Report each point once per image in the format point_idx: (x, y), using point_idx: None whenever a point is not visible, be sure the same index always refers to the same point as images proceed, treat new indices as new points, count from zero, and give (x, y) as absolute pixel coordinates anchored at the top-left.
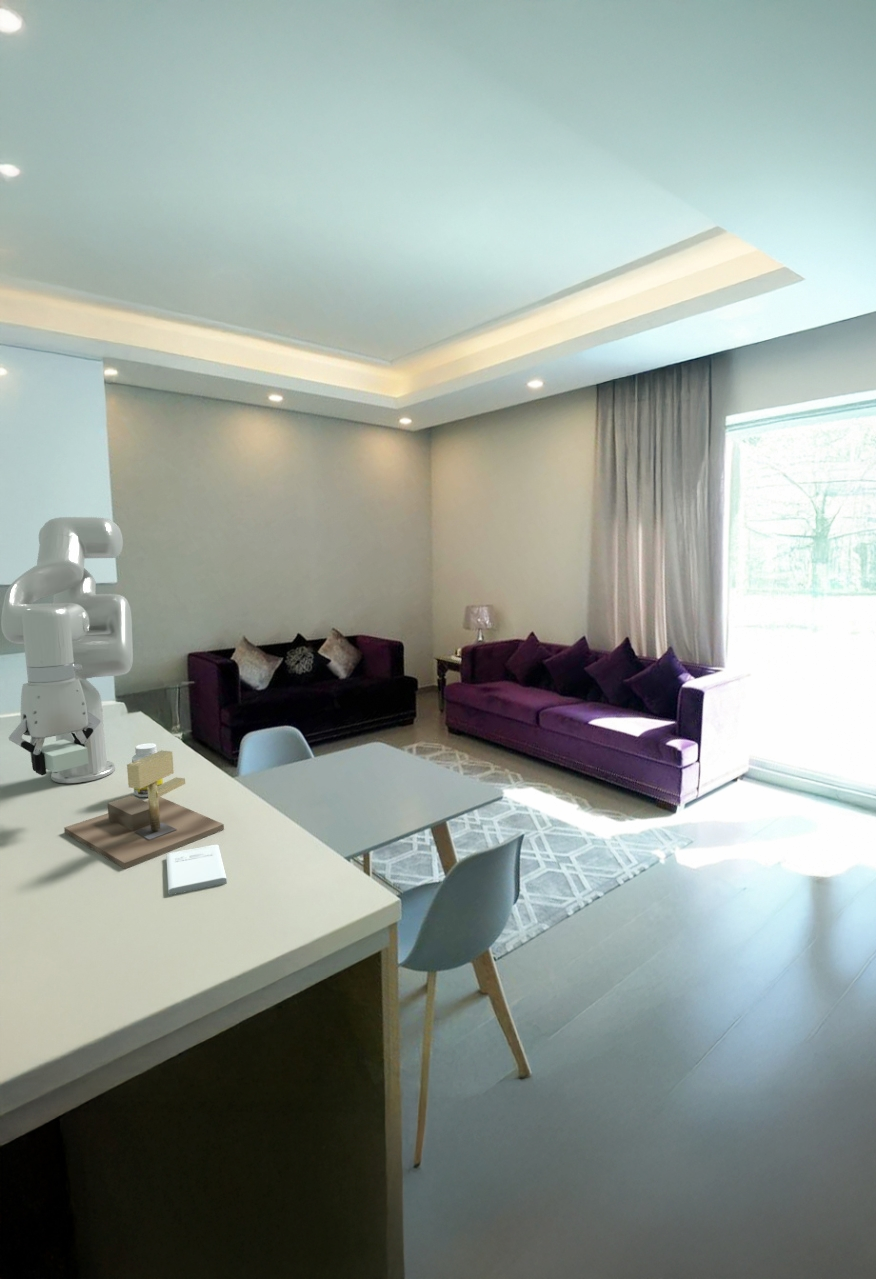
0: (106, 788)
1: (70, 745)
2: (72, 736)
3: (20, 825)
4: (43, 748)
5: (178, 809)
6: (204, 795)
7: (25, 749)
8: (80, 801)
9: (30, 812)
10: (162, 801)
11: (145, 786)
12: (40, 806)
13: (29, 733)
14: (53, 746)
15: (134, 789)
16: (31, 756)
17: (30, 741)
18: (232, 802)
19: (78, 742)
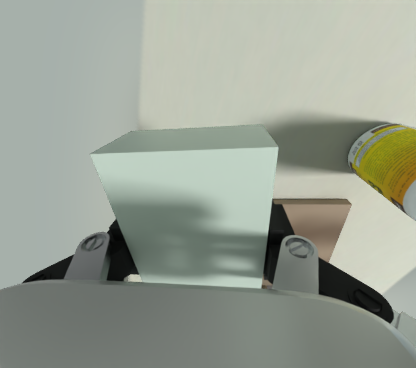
0: (368, 25)
1: (238, 267)
2: (277, 264)
3: (153, 120)
4: (145, 230)
5: (320, 257)
6: (398, 228)
7: (69, 261)
8: (274, 78)
9: (178, 58)
10: (334, 224)
11: (365, 181)
12: (203, 31)
13: (24, 291)
14: (185, 234)
15: (357, 151)
16: (109, 231)
17: (67, 278)
18: (383, 268)
19: (270, 277)
